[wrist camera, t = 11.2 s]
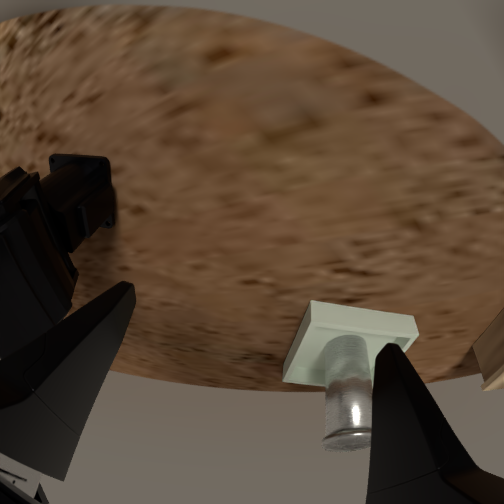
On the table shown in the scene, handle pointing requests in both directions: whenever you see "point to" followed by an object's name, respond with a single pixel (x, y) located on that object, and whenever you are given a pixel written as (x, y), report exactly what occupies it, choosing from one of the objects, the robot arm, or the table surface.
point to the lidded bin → (491, 354)
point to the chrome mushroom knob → (347, 394)
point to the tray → (337, 324)
